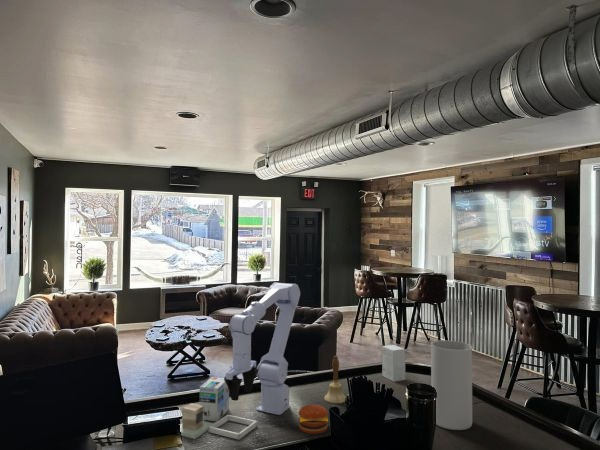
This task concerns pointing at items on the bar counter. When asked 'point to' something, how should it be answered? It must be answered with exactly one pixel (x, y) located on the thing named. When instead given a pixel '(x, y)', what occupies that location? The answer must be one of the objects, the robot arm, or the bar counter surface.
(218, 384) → the light bulb box
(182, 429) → the board
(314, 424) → the hamburger
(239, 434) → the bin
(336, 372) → the hand bell
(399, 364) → the small box
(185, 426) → the ash block
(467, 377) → the cylinder vase
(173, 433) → the bar counter surface
